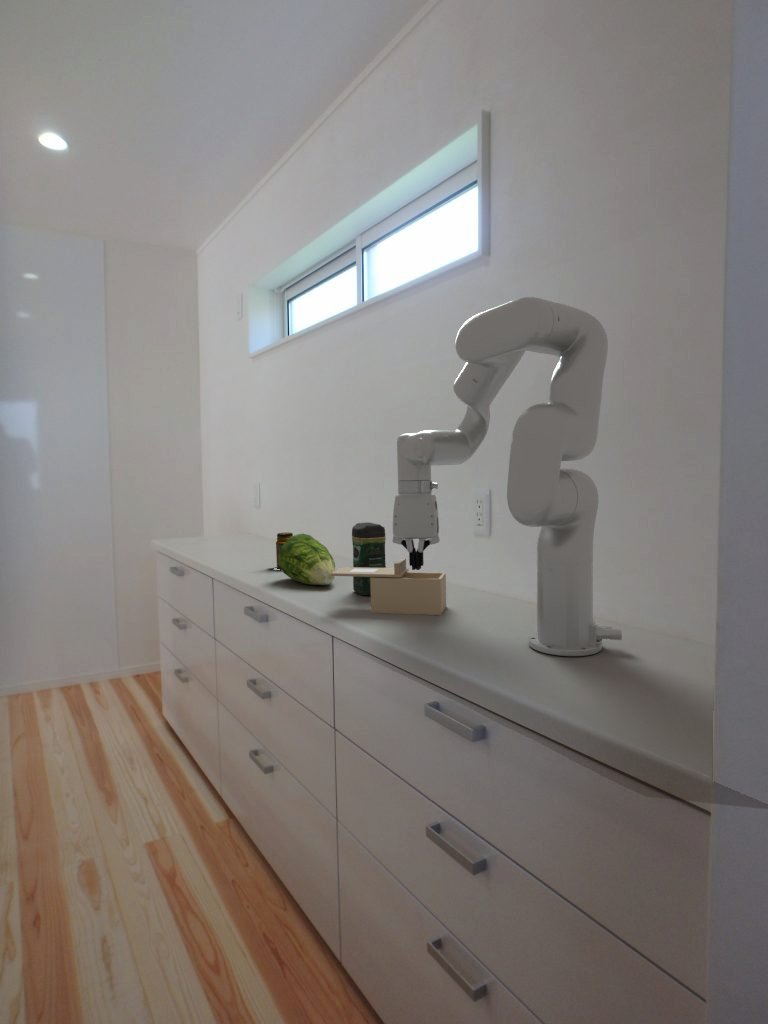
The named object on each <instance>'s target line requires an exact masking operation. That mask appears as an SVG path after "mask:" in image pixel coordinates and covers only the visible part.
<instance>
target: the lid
mask: <svg viewBox="0 0 768 1024" xmlns="http://www.w3.org/2000/svg"><path fill="white" fill-rule="evenodd" d="M393 565H394V566H393V567H386V568H368V567H353V566H349V567H348V566H342V567H340V568H338V569H337V570H336V569H335V571H334V572H332V573H331V576H335V577H353V576H358V577H402V576H403V575H404V574H405V573H406V572H410V571H409V568H407V558H403V557H402V558H400V559H398V560H397V561H395V562H394V563H393Z"/></svg>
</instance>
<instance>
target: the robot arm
mask: <svg viewBox="0 0 768 1024" xmlns="http://www.w3.org/2000/svg"><path fill="white" fill-rule="evenodd" d="M607 335H608V334H607V332H606V329H605V327H604V326H603V324H602V323H601V322H600V321H599V319H597V317H596V316H593V315H592V314H591V313H589V312H586V311H584V310H583V309H579V308H576V307H575V306H574V307H573V306H570V305H566V304H563V303H560V302H559V303H558V302H555V301H551V300H547V299H543V298H539V297H535V296H534V297H533V296H531V297H530V296H527V297H526V296H525V297H520V298H517V299H513V300H511V301H508V302H506V303H503V304H501V305H498V306H495V307H492V308H490V309H487V310H484V311H482V312H479V313H476V314H475V315H473V316H472V317H470V318H468V319H467V320H466V321H465V322H464V323H463V324H462V326H461V327H460V328H459V330H458V331H457V335H456V338H455V342H454V343H455V346H454V347H455V351H456V354H457V356H458V357H459V358H460V359H461V360H462V361H463V362H466V363H465V364H464V366H463V368H462V370H461V371H460V373H459V374H458V376H457V378H456V379H455V380H454V382H453V387H452V388H453V392H454V394H455V395H456V397H457V399H459V401H461V402H462V403H463V404H464V405H465V406H466V412H465V414H464V417H463V418H462V420H461V421H460V423H459V424H458V426H457V427H456V428H455V430H453V429H452V430H450V429H449V430H446V429H444V430H443V429H438V430H435V429H433V430H432V429H429V430H428V429H427V430H422V431H419V432H411V433H403V434H400V435H399V436H398V437H397V440H396V455H397V456H396V459H397V463H396V464H397V493H398V494H396V495H395V497H394V502H393V503H394V504H393V511H392V512H393V514H392V534H393V536H392V543H393V544H396V545H402V546H403V547H404V548H405V549H406V551H407V552H408V554H409V555H408V558H409V559H408V560H409V561H408V562H409V563H408V564H409V566H410V567H411V569H412V570H411V571H415V570H417V571H420V570H421V569H422V567H423V566H424V551H425V550H426V549H427V548H428V547H429V546H430V545H435V544H438V543H440V542H441V541H440V537H439V534H440V521H439V511H438V503H437V497H436V494H435V493H432V492H433V490H438V488H439V487H438V485H439V484H438V482H434V481H433V480H432V466H456V465H462V464H464V463H466V462H467V461H469V460H470V459H471V458H472V457H473V456H474V454H475V453H476V452H477V450H478V449H479V447H481V444H482V443H483V442H484V440H485V439H486V437H487V435H488V431H489V426H490V422H491V421H490V420H491V410H490V409H491V407H490V406H491V404H493V402H494V400H495V398H496V397H497V395H498V394H499V392H500V390H502V388H503V386H504V385H505V384H506V382H507V380H508V378H509V377H510V376H511V374H512V373H513V372H514V370H515V368H516V367H517V365H518V364H519V363H520V361H521V360H522V358H523V356H524V354H525V352H532V353H538V354H544V355H550V356H555V357H558V358H559V361H558V363H557V364H556V366H555V368H554V370H553V373H552V376H551V379H550V384H549V396H548V403H547V402H544V403H538V404H537V403H536V404H534V405H533V404H532V405H531V406H529V407H528V408H526V409H524V411H523V412H522V413H521V414H520V415H519V417H518V418H517V420H516V423H515V424H514V427H513V431H512V433H511V434H512V435H511V439H510V441H511V442H510V452H509V461H508V462H509V463H508V464H509V465H508V475H507V476H508V477H507V487H506V491H507V492H506V499H507V500H506V501H507V506H508V510H509V512H510V514H511V516H512V517H513V519H514V520H515V521H517V522H518V523H519V524H521V525H523V526H526V527H529V528H530V527H531V528H539V527H540V531H539V533H538V538H537V543H536V544H537V545H536V632H534V633H532V634H530V635H529V637H528V638H527V640H528V646H530V648H532V649H533V650H535V651H537V652H540V653H543V654H547V655H552V656H561V657H584V656H586V657H587V656H591V655H594V654H597V653H600V652H601V650H603V640H610V641H622V638H623V637H622V635H623V633H622V629H621V628H613V627H612V626H610V625H609V626H605V625H604V626H600V625H599V626H598V624H596V622H595V620H594V609H593V608H594V607H593V606H594V605H593V603H594V597H593V596H594V591H593V590H594V588H593V587H594V585H593V581H594V578H593V577H594V576H593V575H594V571H593V570H594V537H595V534H594V533H595V525H596V521H597V516H598V515H597V514H598V509H599V490H598V488H597V486H596V483H595V481H594V480H593V479H592V478H591V477H590V475H588V474H587V473H585V472H583V471H581V470H578V469H575V468H561V466H562V462H573V461H578V460H579V461H580V460H583V459H585V458H587V457H588V456H590V454H592V452H593V451H594V449H595V448H596V444H597V439H598V432H599V425H600V416H601V415H600V413H601V407H602V406H601V405H602V397H603V395H602V394H603V383H604V376H605V369H606V363H607V357H608V352H609V351H608V350H609V341H608V336H607ZM414 539H417V540H418V544H417V549H416V548H415V542H414Z"/></svg>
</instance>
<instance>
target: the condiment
mask: <svg viewBox="0 0 768 1024" xmlns="http://www.w3.org/2000/svg"><path fill="white" fill-rule="evenodd" d="M292 536H294V534H293V532H278V533H277V534H276V542H275V550H276V551H275V553H276V554H275V556H276V567H269V568H267V570H269V569H274V568H277V569H280V570H281V571H280V572H283V571H282V569H281V567H280V564H279V553H280V550H281V547H282V546H283V544H284V543H285V542H286V541H287V540H288V539H289V538H291V537H292ZM274 572H277V571H276V570H275V571H274Z"/></svg>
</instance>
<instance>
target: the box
mask: <svg viewBox="0 0 768 1024" xmlns="http://www.w3.org/2000/svg"><path fill="white" fill-rule="evenodd" d="M446 573H447V572H424V571H423V572H422V571H418V572H417V571H416V572H411V571H408V572H406V573H405V574H404V575H403V576H402V577H371V578H370V585H371V595H370V613H371V614H374V613H375V614H398V615H399V614H400V615H404V614H405V615H424V616H425V615H426V616H442V615H443V613H444V611H445V610H446V608H447V574H446Z"/></svg>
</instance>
